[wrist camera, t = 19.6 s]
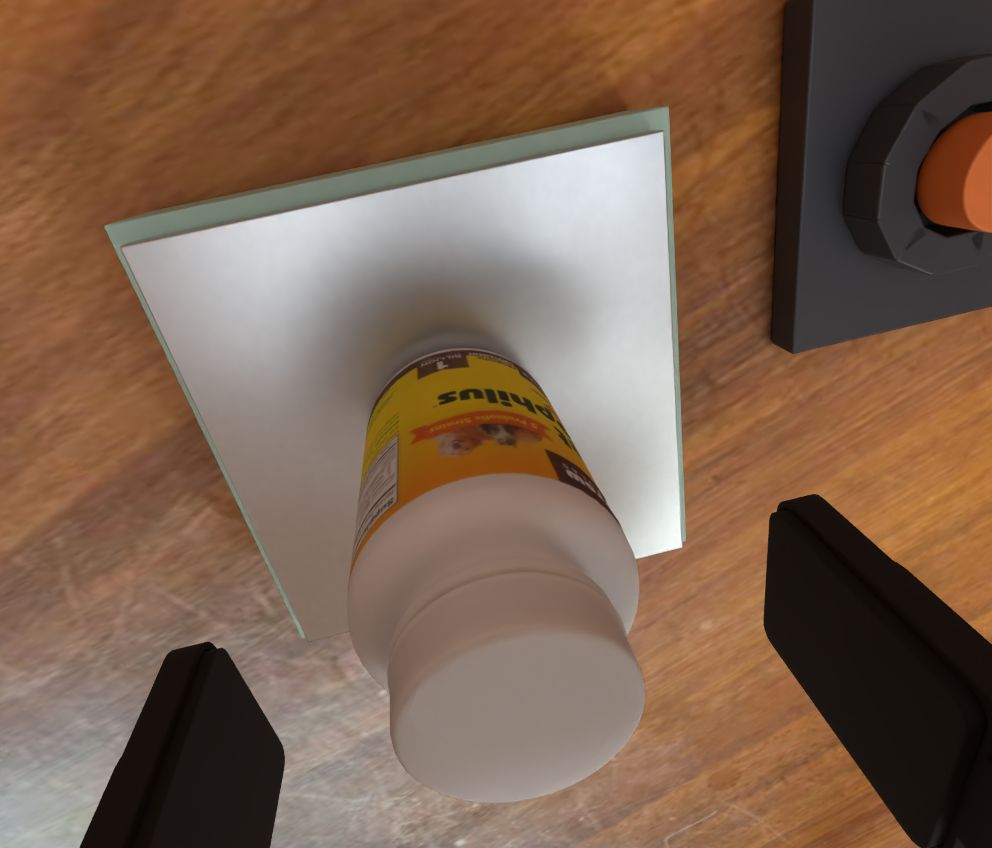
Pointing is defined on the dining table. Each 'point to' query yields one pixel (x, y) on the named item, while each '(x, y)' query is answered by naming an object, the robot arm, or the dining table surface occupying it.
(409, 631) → the supplement bottle
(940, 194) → the tare button
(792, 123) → the block
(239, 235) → the scale
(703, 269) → the dining table surface
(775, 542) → the robot arm
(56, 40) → the dining table surface
